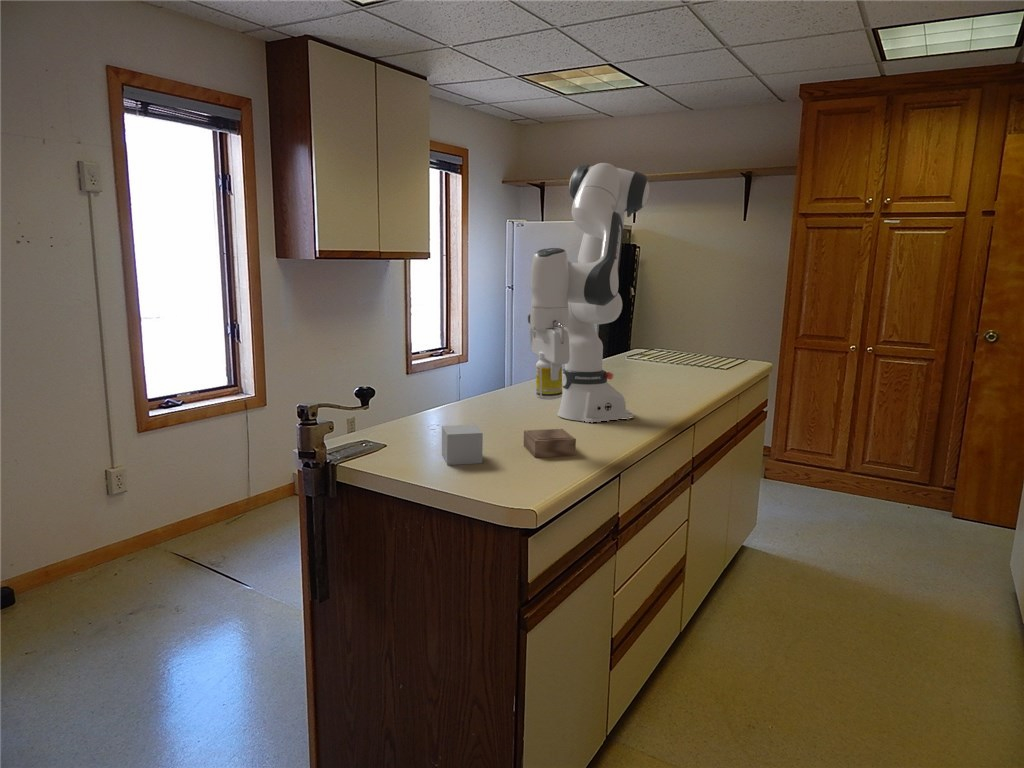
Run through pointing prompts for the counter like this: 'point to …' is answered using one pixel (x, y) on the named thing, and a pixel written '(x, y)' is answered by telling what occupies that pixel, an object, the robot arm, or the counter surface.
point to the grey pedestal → (462, 444)
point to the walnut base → (549, 443)
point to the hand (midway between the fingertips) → (549, 377)
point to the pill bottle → (547, 380)
